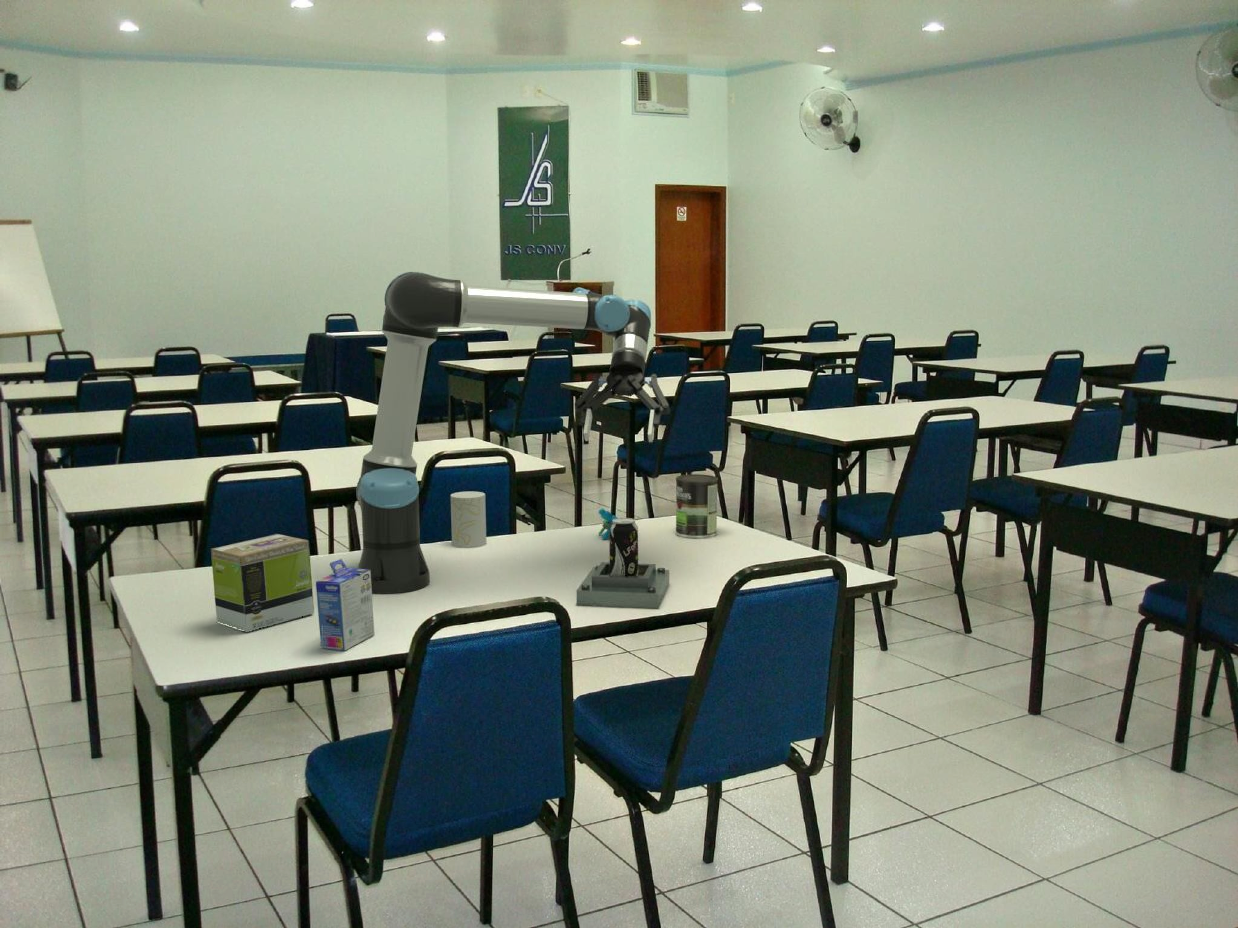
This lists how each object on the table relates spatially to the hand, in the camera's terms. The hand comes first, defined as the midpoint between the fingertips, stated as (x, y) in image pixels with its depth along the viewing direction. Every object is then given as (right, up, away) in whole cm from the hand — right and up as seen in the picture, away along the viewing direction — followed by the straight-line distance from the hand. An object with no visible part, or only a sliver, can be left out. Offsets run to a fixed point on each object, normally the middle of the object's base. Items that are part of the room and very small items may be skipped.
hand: (617, 437), depth 242 cm
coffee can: (+19, -23, +43) cm, 53 cm away
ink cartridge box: (-48, -37, -38) cm, 71 cm away
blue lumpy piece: (-1, -24, +40) cm, 47 cm away
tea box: (-66, -35, -25) cm, 79 cm away
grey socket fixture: (+1, -32, -10) cm, 33 cm away
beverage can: (+1, -29, -10) cm, 30 cm away
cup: (-36, -25, +34) cm, 55 cm away
